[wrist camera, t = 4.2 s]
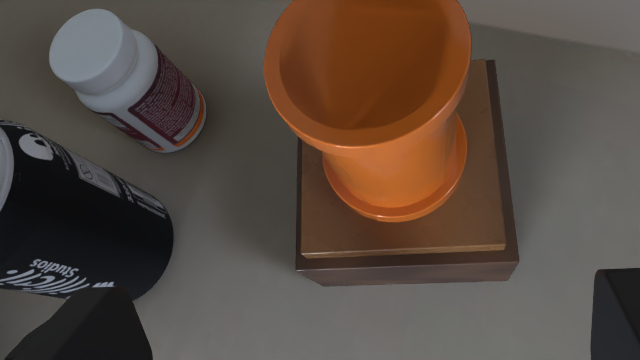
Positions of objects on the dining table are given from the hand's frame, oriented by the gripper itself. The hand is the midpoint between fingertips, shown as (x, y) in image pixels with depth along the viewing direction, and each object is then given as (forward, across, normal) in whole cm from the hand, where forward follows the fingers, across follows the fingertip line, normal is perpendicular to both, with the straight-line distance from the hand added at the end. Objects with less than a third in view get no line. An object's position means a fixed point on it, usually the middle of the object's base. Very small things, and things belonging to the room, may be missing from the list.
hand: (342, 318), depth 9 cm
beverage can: (+16, +16, +8) cm, 24 cm away
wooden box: (+18, 0, +7) cm, 19 cm away
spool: (+13, 0, +3) cm, 14 cm away
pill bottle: (+22, +14, +3) cm, 26 cm away
